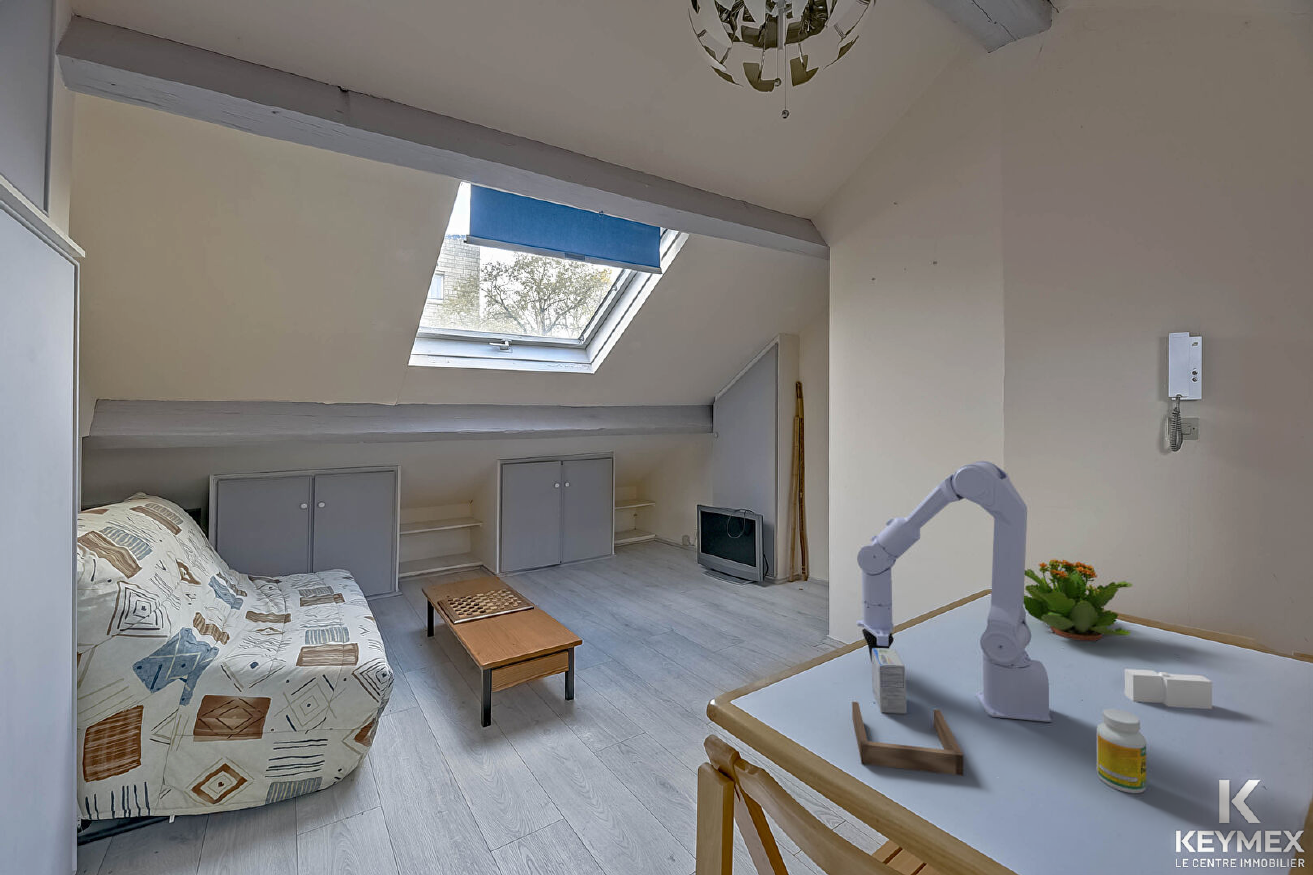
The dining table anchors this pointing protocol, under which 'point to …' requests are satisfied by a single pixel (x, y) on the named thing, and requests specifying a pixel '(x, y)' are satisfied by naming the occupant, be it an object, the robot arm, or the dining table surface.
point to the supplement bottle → (1121, 751)
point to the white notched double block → (1168, 688)
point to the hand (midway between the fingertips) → (877, 666)
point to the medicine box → (888, 680)
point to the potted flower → (1072, 601)
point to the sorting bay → (911, 749)
